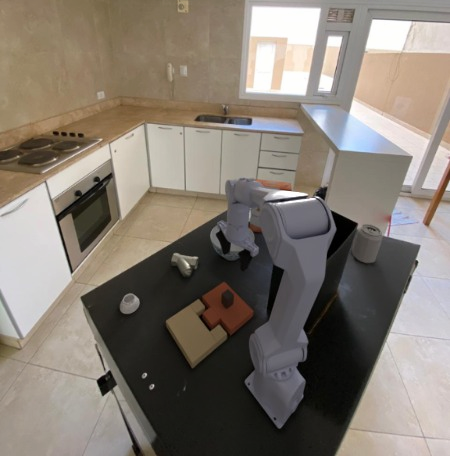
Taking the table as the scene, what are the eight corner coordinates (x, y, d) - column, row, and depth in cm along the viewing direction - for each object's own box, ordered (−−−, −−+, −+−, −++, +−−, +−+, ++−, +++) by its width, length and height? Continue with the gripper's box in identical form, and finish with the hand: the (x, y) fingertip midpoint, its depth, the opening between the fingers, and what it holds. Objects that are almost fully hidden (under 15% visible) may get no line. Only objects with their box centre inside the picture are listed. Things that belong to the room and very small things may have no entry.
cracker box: (248, 232, 100) (253, 185, 92) (249, 223, 105) (254, 178, 98) (284, 237, 98) (292, 189, 90) (284, 227, 103) (291, 182, 96)
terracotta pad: (252, 316, 67) (254, 301, 65) (221, 343, 61) (222, 327, 59) (224, 286, 76) (224, 272, 74) (193, 307, 69) (193, 292, 67)
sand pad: (226, 339, 62) (227, 333, 61) (192, 368, 55) (192, 363, 55) (198, 303, 70) (198, 298, 69) (166, 326, 64) (165, 320, 63)
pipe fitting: (192, 281, 77) (198, 263, 83) (191, 272, 76) (198, 255, 82) (167, 276, 79) (175, 259, 85) (166, 267, 77) (174, 250, 83)
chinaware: (247, 275, 80) (248, 256, 77) (203, 262, 84) (203, 244, 81) (256, 244, 93) (258, 227, 90) (218, 235, 97) (218, 218, 94)
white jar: (119, 301, 70) (120, 317, 65) (118, 294, 68) (119, 309, 64) (138, 295, 72) (140, 310, 67) (137, 287, 71) (140, 302, 66)
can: (375, 254, 91) (384, 227, 86) (374, 268, 85) (383, 239, 80) (352, 246, 94) (360, 219, 90) (350, 258, 88) (358, 230, 84)
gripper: (268, 228, 64) (263, 269, 69) (230, 203, 74) (228, 241, 79) (249, 240, 60) (245, 283, 64) (211, 212, 70) (210, 250, 75)
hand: (234, 260), depth 71 cm, fingers open, 7 cm apart
